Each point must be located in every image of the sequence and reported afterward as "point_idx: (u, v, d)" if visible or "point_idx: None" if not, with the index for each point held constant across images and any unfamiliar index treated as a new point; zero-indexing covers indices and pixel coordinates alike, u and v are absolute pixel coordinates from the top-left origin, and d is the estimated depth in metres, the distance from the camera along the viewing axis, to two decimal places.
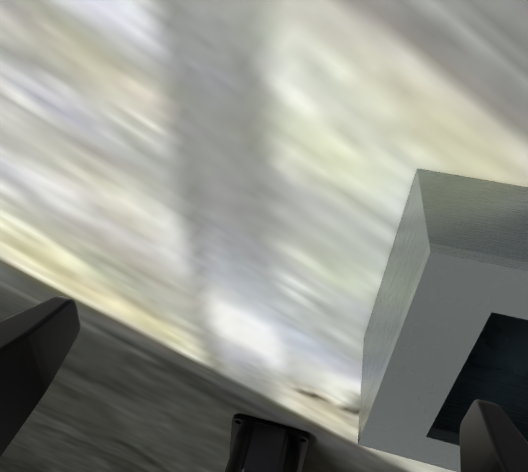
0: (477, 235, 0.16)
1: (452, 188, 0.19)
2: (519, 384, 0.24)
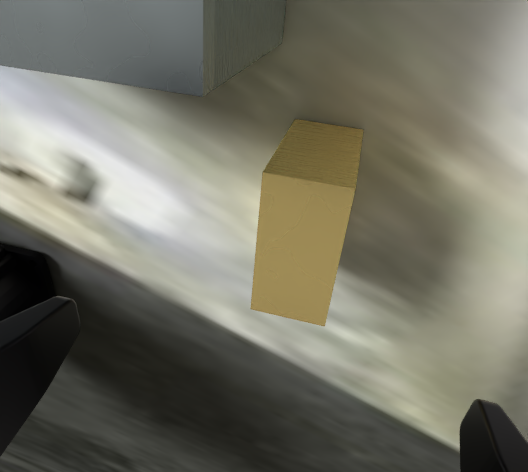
0: None
1: None
2: None
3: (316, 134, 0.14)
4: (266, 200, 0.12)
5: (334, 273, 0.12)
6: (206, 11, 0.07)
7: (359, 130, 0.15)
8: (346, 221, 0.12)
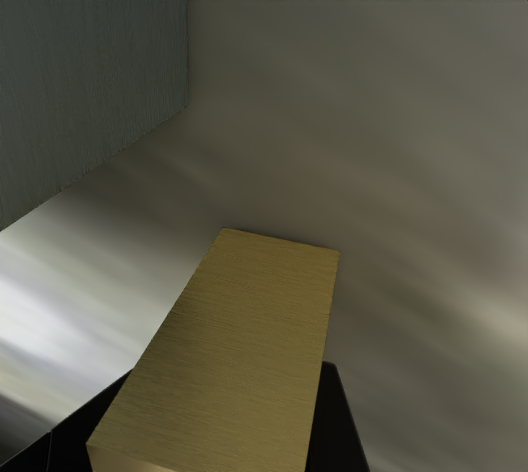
0: None
1: None
2: None
3: (251, 271, 0.08)
4: None
5: None
6: None
7: (331, 253, 0.08)
8: None
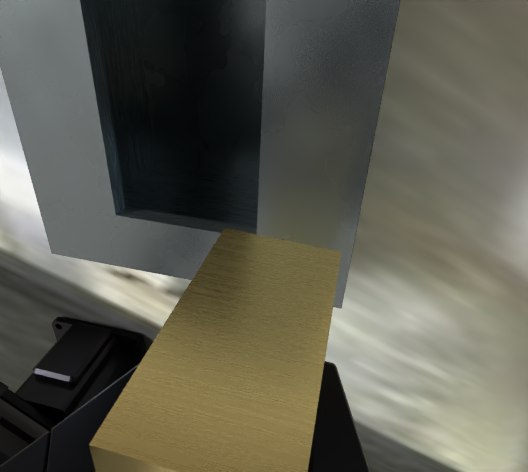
0: None
1: None
2: None
3: (253, 271, 0.08)
4: None
5: None
6: None
7: (333, 254, 0.08)
8: None
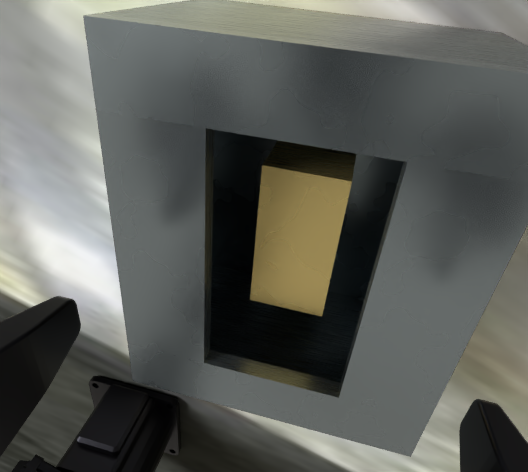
0: (198, 18, 0.10)
1: (231, 5, 0.13)
2: None
3: None
4: (265, 193, 0.12)
5: (331, 264, 0.13)
6: (422, 426, 0.13)
7: None
8: (343, 213, 0.12)
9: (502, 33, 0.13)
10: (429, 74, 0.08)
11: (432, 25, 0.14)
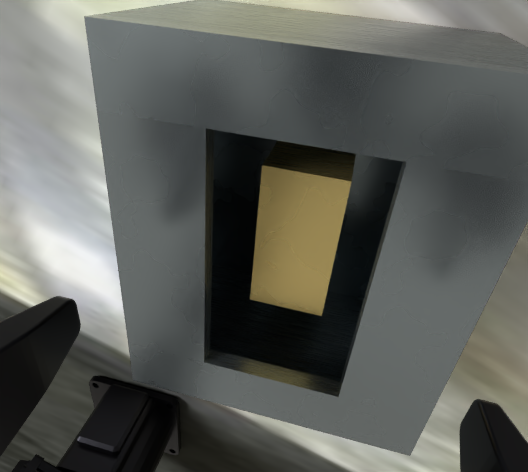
0: (198, 19, 0.10)
1: (231, 6, 0.13)
2: None
3: None
4: (265, 193, 0.12)
5: (331, 264, 0.13)
6: (422, 425, 0.13)
7: None
8: (342, 213, 0.12)
9: (501, 34, 0.13)
10: (428, 75, 0.08)
11: (431, 26, 0.14)
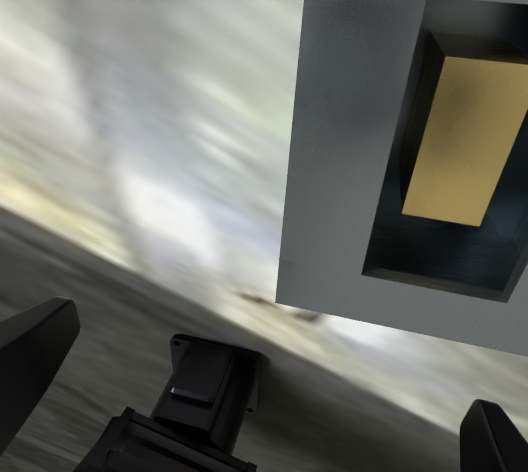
0: None
1: None
2: (504, 243, 0.18)
3: (463, 39, 0.14)
4: (442, 88, 0.12)
5: (502, 165, 0.13)
6: None
7: (499, 38, 0.15)
8: (526, 104, 0.12)
9: None
10: None
11: None
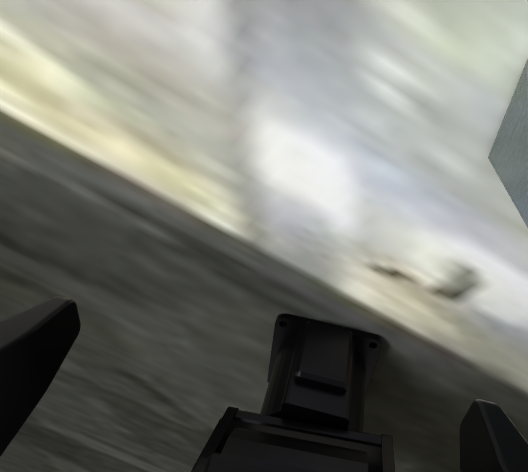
0: None
1: None
2: None
3: None
4: None
5: None
6: None
7: None
8: None
9: None
10: None
11: None
